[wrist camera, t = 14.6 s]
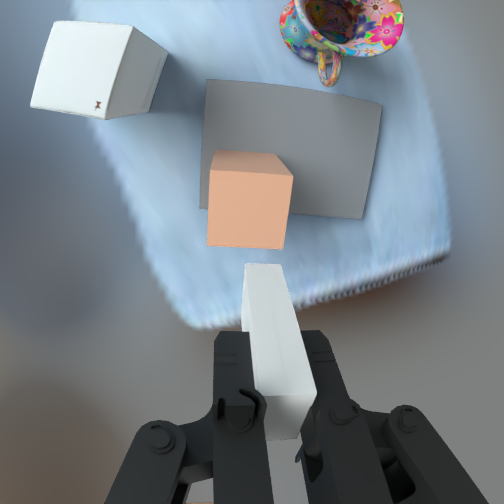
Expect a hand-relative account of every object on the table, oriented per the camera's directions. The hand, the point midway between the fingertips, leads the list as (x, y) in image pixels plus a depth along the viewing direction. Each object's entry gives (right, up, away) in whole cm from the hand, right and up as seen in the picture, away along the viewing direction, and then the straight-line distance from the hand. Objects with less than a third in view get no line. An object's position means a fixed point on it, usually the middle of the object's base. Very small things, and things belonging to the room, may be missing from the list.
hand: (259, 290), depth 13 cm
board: (+4, +13, +19) cm, 23 cm away
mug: (+6, +24, +13) cm, 28 cm away
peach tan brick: (-1, +9, +19) cm, 21 cm away
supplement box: (-14, +21, +13) cm, 28 cm away
